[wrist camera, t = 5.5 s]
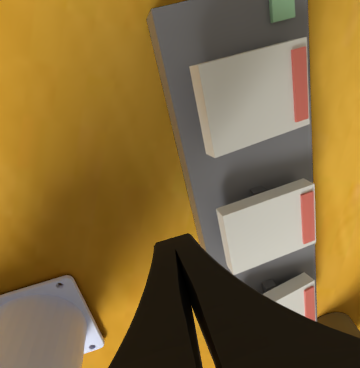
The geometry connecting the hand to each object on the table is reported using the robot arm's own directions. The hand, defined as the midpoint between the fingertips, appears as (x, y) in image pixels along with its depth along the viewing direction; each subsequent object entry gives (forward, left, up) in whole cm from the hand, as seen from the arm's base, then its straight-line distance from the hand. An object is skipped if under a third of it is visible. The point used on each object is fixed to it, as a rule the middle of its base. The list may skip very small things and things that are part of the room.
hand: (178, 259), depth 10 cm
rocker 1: (+6, +4, -6) cm, 9 cm away
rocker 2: (+6, -4, -6) cm, 9 cm away
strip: (+6, -4, -10) cm, 12 cm away
